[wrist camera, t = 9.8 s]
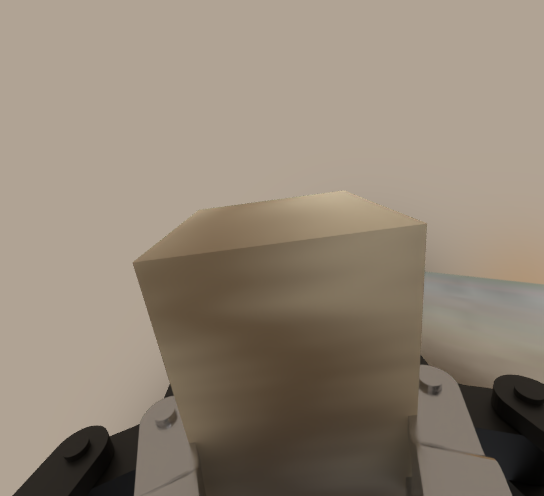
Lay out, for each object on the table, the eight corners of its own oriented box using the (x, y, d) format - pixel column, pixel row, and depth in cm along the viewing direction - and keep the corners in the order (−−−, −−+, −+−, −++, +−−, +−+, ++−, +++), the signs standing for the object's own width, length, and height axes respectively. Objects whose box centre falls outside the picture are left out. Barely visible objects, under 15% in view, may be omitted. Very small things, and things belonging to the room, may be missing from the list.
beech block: (355, 443, 13) (343, 190, 9) (408, 606, 8) (427, 223, 5) (251, 455, 13) (198, 209, 9) (245, 624, 8) (132, 262, 5)
